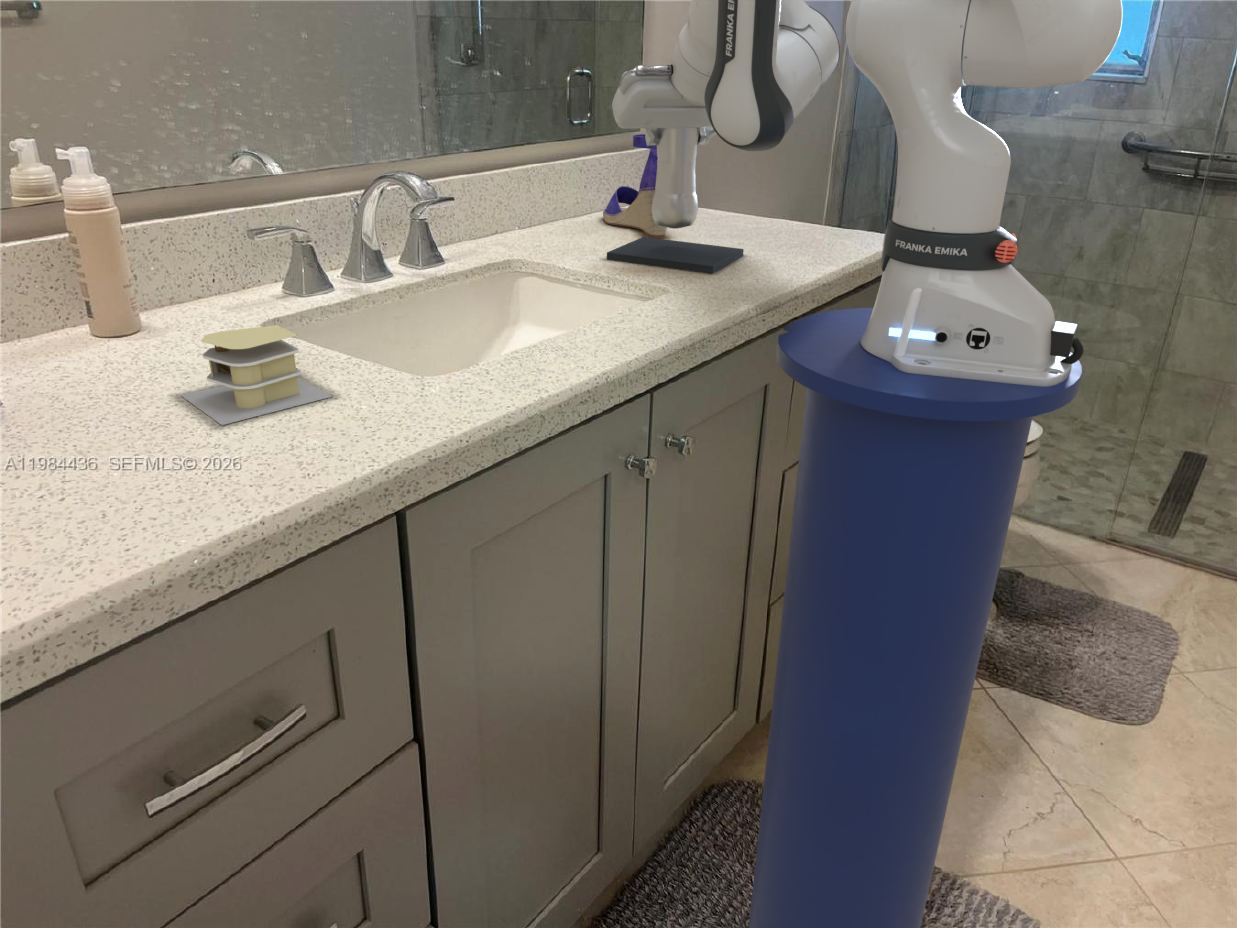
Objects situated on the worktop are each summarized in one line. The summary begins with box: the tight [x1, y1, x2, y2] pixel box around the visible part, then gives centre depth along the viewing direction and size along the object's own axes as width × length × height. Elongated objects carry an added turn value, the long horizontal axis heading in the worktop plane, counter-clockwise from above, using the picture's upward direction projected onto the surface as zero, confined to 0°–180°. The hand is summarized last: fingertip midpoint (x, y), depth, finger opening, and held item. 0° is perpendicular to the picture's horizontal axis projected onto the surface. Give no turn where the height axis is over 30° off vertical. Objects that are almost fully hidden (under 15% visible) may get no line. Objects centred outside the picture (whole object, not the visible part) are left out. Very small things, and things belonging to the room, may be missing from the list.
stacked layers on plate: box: [180, 324, 334, 426], centre depth 83 cm, size 10×9×6 cm
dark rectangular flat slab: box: [606, 236, 745, 274], centre depth 135 cm, size 16×12×1 cm
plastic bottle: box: [652, 127, 700, 230], centre depth 129 cm, size 6×7×20 cm
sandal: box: [602, 133, 668, 239], centre depth 151 cm, size 8×20×15 cm, turn 15°
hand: (676, 141), depth 129 cm, fingers closed on plastic bottle, 6 cm apart
